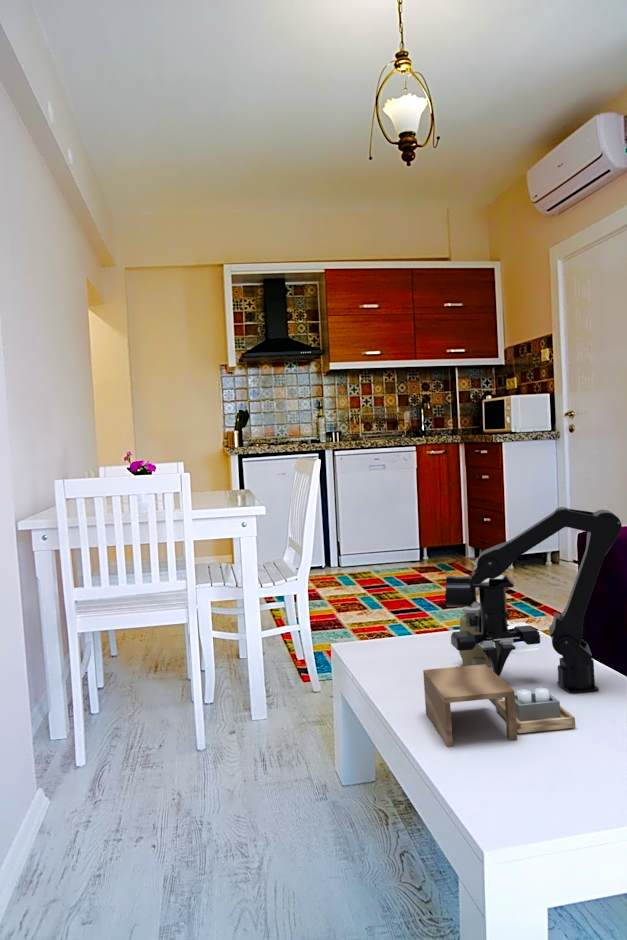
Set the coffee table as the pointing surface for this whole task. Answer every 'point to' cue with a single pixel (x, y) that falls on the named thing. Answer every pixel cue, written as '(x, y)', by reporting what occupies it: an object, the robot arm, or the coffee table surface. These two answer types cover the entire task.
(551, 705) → the tray
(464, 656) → the squeeze bottle
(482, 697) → the wooden stand
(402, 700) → the coffee table surface
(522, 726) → the shallow wooden box
